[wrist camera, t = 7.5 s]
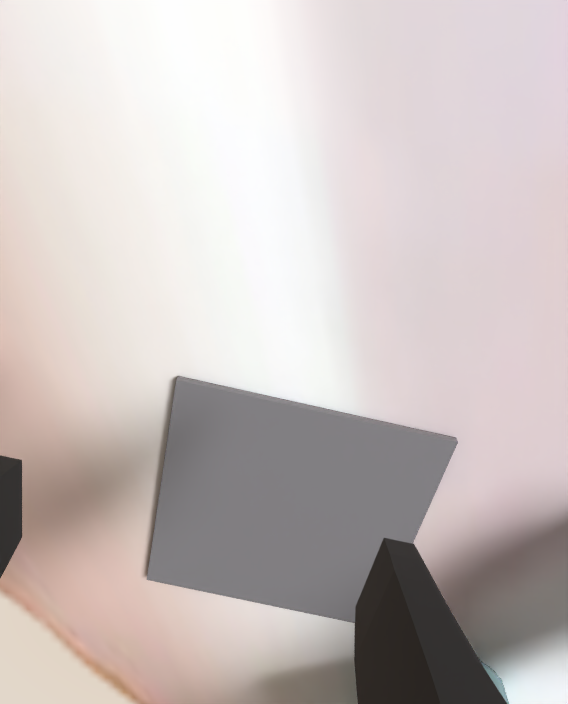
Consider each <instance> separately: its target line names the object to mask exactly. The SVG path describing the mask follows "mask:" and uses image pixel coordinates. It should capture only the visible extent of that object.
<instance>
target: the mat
mask: <svg viewBox="0 0 568 704" xmlns="http://www.w3.org/2000/svg"><path fill="white" fill-rule="evenodd" d="M457 443H458V441H457V439H456V438H455V437H450V436H446V435H441V434H437V433H432V432H428V431H423V430H419V429H414V428H410V427H405V426H401V425H396V424H392V423H387V422H383V421H378V420H374V419H369V418H365V417H360V416H356V415H351V414H347V413H342V412H338V411H333V410H329V409H324V408H320V407H315V406H311V405H306V404H302V403H297V402H293V401H288V400H284V399H279V398H275V397H270V396H266V395H261V394H257V393H252V392H248V391H243V390H239V389H234V388H230V387H225V386H221V385H216V384H212V383H207V382H203V381H198V380H194V379H189V378H185V377H180V376H178V377H177V379H176V385H175V392H174V399H173V405H172V412H171V419H170V426H169V433H168V439H167V446H166V453H165V460H164V466H163V473H162V480H161V487H160V494H159V500H158V507H157V514H156V521H155V527H154V534H153V541H152V548H151V555H150V561H149V568H148V575H147V580H150V581H155V582H160V583H165V584H170V585H175V586H179V587H184V588H189V589H194V590H199V591H203V592H208V593H213V594H218V595H223V596H227V597H232V598H237V599H242V600H247V601H252V602H256V603H261V604H266V605H271V606H276V607H280V608H285V609H290V610H295V611H300V612H305V613H309V614H314V615H319V616H324V617H329V618H333V619H338V620H343V621H348V622H353V623H355V607H356V604H357V602H358V599H359V597H360V594H361V592H362V589H363V587H364V585H365V582H366V580H367V577H368V575H369V572H370V570H371V568H372V565H373V563H374V560H375V558H376V555H377V553H378V551H379V548H380V546H381V543H382V541H383V538H388V539H393V540H398V541H402V542H407V543H412V544H413V542H414V539H415V537H416V535H417V533H418V530H419V528H420V526H421V524H422V521H423V519H424V517H425V515H426V512H427V510H428V508H429V506H430V504H431V501H432V499H433V497H434V495H435V492H436V490H437V488H438V486H439V483H440V481H441V479H442V477H443V474H444V472H445V470H446V468H447V466H448V463H449V461H450V459H451V457H452V454H453V452H454V450H455V448H456V445H457Z"/></svg>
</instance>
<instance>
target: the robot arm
mask: <svg viewBox="0 0 568 704" xmlns="http://www.w3.org/2000/svg"><path fill="white" fill-rule="evenodd" d="M21 538H22V460H19V459H14V458H9V457H5V456H0V578H1V576H2V574H3V572H4V570H5V569H6V567H7V565H8V563H9V561H10V559H11V557H12V555H13V553H14V551H15V550H16V548H17V546H18V544H19V542H20V540H21ZM354 661H355V673H356V685H357V696H358V704H507V702H506V701H505V699H504V698H503V696H502V695H501V693H500V692H499V690H498V689H497V687H496V686H495V684H494V682H493V681H492V679H491V678H490V676H489V675H488V673H487V671H486V670H485V668H484V667H483V665H482V663H481V662H480V660H479V659H478V657H477V655H476V653H475V652H474V650H473V648H472V647H471V645H470V643H469V642H468V640H467V638H466V637H465V635H464V633H463V632H462V630H461V628H460V627H459V625H458V623H457V621H456V620H455V618H454V616H453V614H452V613H451V611H450V609H449V607H448V605H447V604H446V602H445V600H444V598H443V596H442V595H441V593H440V591H439V589H438V587H437V585H436V584H435V582H434V580H433V578H432V576H431V574H430V572H429V571H428V569H427V567H426V565H425V563H424V561H423V559H422V558H421V556H420V554H419V552H418V550H417V549H416V547H415V545H414V544H412V543H407V542H402V541H398V540H393V539H388V538H383V541H382V543H381V546H380V548H379V551H378V553H377V555H376V558H375V560H374V563H373V565H372V568H371V570H370V572H369V575H368V577H367V580H366V582H365V585H364V587H363V589H362V592H361V594H360V597H359V599H358V602H357V604H356V607H355V657H354Z"/></svg>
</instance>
